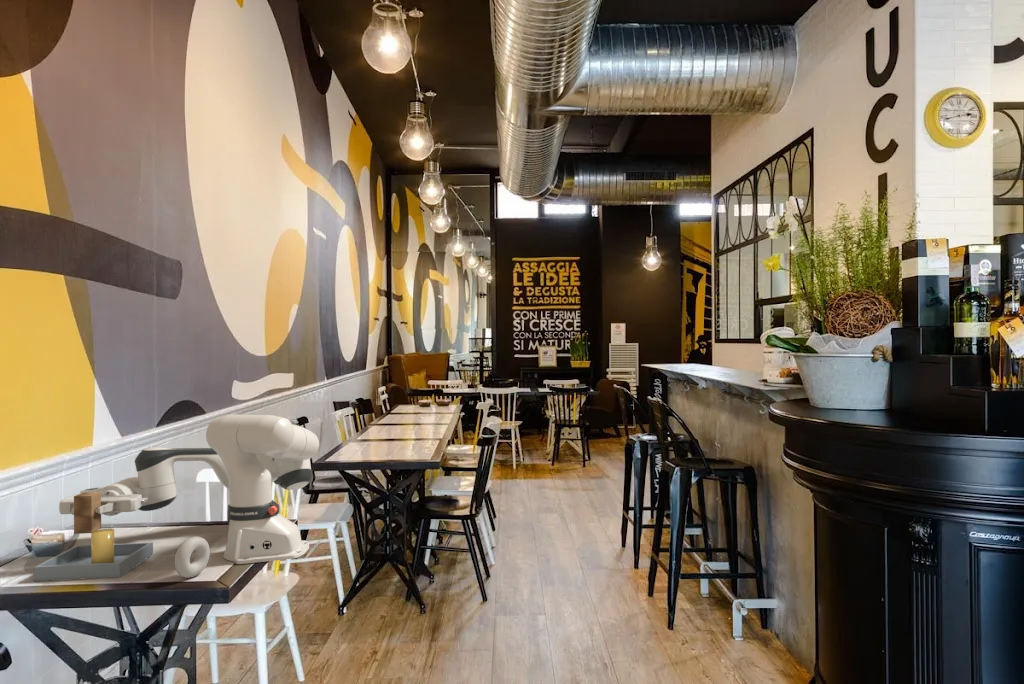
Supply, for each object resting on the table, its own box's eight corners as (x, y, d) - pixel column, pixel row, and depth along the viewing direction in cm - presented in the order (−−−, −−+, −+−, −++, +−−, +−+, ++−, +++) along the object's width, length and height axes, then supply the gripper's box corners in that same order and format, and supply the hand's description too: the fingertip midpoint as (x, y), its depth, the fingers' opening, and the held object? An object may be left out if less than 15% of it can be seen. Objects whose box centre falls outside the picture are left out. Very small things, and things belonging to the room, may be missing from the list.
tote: (152, 554, 177) (152, 542, 177) (119, 577, 159) (119, 563, 159) (76, 558, 175) (76, 545, 175) (33, 581, 157) (33, 567, 157)
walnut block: (101, 528, 173) (101, 492, 173) (91, 533, 168) (91, 495, 169) (84, 529, 172) (83, 492, 173) (74, 533, 168) (73, 496, 168)
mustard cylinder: (118, 566, 166) (118, 528, 166) (107, 573, 161) (107, 533, 161) (98, 567, 165) (98, 529, 165) (87, 574, 160) (87, 534, 160)
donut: (182, 584, 153) (181, 543, 153) (171, 583, 154) (170, 542, 155) (213, 570, 163) (212, 532, 163) (202, 569, 164) (202, 531, 164)
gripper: (150, 508, 184) (126, 521, 170) (77, 511, 182) (46, 524, 169) (150, 487, 184) (125, 498, 171) (77, 489, 183) (46, 500, 169)
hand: (85, 511), depth 170 cm, fingers closed on walnut block, 4 cm apart
